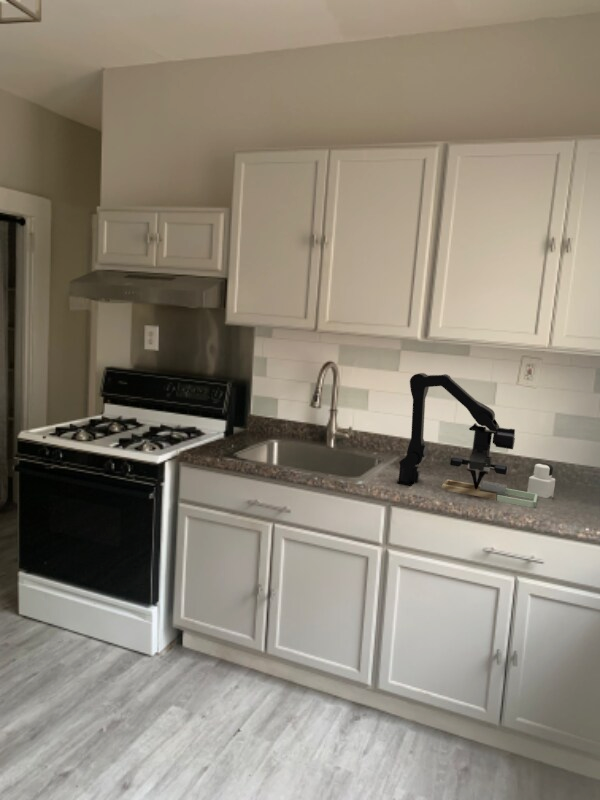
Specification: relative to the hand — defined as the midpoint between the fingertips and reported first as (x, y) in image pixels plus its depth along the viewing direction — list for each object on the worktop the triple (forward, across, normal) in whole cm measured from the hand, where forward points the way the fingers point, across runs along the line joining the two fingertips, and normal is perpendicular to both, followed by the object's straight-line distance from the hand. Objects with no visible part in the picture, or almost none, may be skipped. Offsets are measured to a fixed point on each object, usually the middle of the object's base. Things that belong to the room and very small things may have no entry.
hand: (476, 488), depth 217 cm
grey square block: (+1, +8, 0) cm, 8 cm away
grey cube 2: (+1, +4, 0) cm, 4 cm away
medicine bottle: (+3, +20, +14) cm, 25 cm away
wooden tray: (+2, -2, 0) cm, 3 cm away
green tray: (+2, +14, 0) cm, 14 cm away
